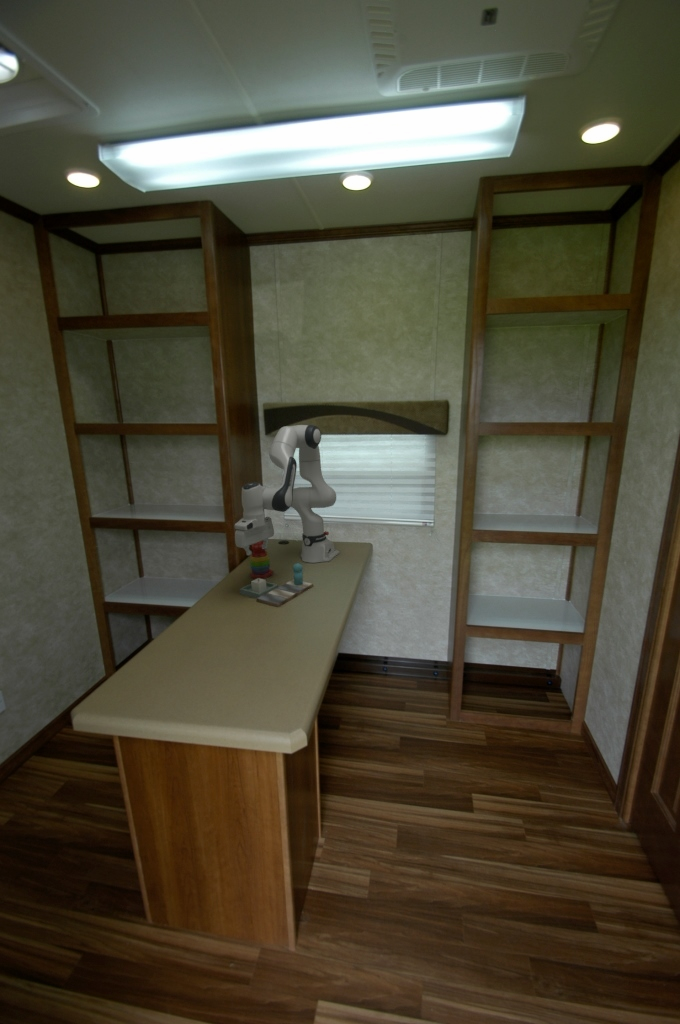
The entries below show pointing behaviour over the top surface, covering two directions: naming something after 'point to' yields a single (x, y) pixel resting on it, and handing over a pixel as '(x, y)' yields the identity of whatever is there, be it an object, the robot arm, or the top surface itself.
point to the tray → (248, 592)
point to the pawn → (298, 574)
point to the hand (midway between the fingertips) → (257, 551)
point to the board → (284, 593)
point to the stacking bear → (260, 562)
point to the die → (258, 585)
